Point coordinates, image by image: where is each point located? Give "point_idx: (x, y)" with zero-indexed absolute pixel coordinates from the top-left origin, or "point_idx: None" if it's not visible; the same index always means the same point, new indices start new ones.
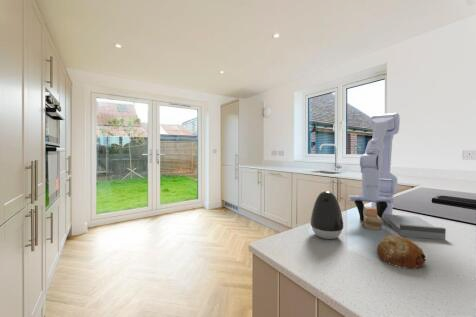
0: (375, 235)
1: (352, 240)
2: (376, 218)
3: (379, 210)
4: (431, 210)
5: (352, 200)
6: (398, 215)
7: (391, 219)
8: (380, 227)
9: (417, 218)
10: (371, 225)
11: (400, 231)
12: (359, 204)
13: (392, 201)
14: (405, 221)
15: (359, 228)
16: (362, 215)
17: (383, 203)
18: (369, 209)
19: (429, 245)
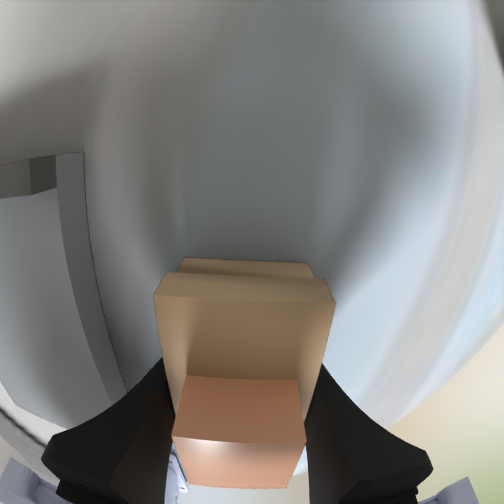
0: (283, 96)
1: (449, 20)
2: (212, 305)
3: (146, 429)
4: (26, 448)
5: (450, 493)
6: (70, 427)
7: (91, 384)
8: (187, 264)
9: (9, 386)
10: (263, 272)
11: (68, 168)
12: (419, 464)
13: (7, 475)
14: (30, 351)
15: (360, 247)
16: (324, 384)
17: (87, 492)
18: (266, 440)
19: (22, 54)
